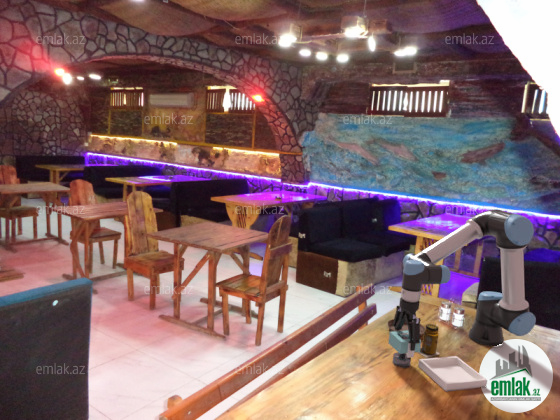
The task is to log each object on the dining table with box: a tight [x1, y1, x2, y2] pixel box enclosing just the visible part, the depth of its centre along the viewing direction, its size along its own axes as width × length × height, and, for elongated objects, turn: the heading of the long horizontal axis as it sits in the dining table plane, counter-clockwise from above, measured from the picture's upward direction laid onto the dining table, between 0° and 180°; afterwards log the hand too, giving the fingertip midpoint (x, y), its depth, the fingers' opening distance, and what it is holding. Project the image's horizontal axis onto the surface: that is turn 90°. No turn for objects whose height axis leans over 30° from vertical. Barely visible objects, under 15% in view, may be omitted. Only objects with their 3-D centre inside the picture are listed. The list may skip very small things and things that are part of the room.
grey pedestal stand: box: [392, 333, 412, 369], centre depth 181 cm, size 7×7×13 cm
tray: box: [417, 355, 488, 392], centre depth 175 cm, size 18×18×3 cm
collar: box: [388, 331, 422, 354], centre depth 180 cm, size 9×9×5 cm
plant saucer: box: [386, 318, 426, 337], centre depth 212 cm, size 18×18×3 cm
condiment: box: [417, 323, 441, 359], centre depth 192 cm, size 7×8×12 cm
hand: (403, 350), depth 181 cm, fingers closed on collar, 9 cm apart
